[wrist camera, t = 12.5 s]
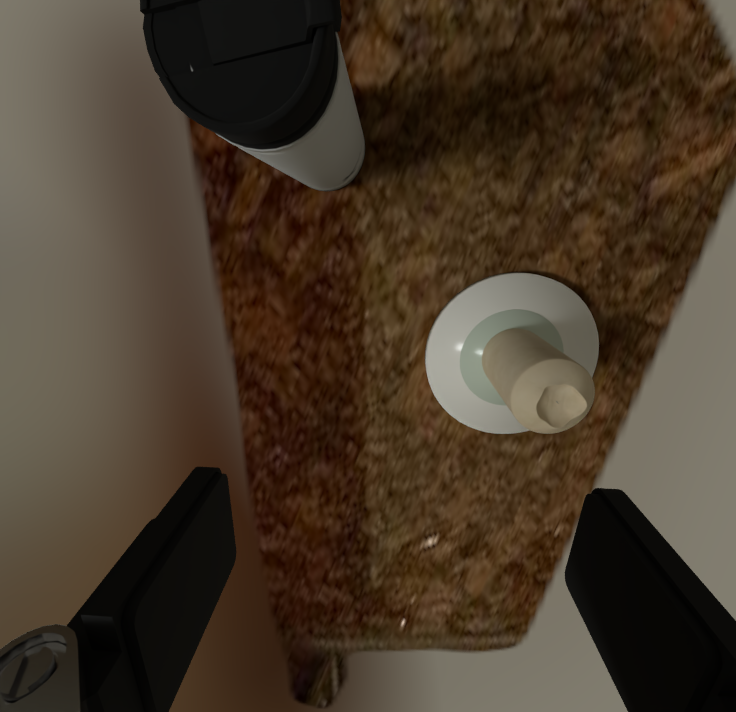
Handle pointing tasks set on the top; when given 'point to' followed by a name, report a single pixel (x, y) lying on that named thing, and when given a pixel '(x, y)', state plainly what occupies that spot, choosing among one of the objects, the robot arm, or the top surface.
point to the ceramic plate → (486, 319)
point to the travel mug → (263, 80)
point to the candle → (537, 381)
